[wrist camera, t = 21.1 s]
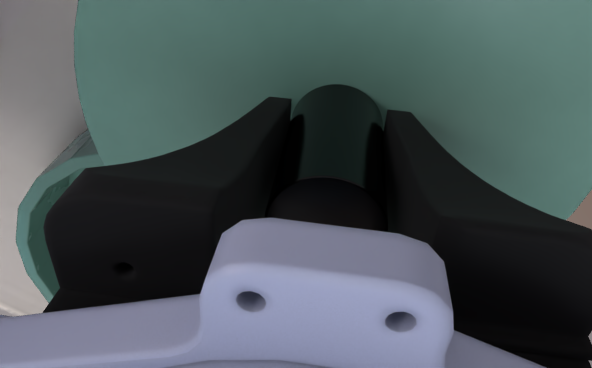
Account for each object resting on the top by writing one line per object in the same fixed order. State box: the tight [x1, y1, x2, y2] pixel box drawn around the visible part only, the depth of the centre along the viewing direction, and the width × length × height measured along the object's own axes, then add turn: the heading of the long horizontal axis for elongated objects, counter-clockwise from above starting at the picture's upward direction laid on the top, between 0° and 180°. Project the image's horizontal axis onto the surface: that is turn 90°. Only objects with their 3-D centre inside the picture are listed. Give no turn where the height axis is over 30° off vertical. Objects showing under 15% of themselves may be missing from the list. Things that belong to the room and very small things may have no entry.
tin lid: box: [74, 0, 592, 232], centre depth 13 cm, size 15×15×6 cm
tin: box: [16, 130, 105, 303], centre depth 26 cm, size 14×14×4 cm
